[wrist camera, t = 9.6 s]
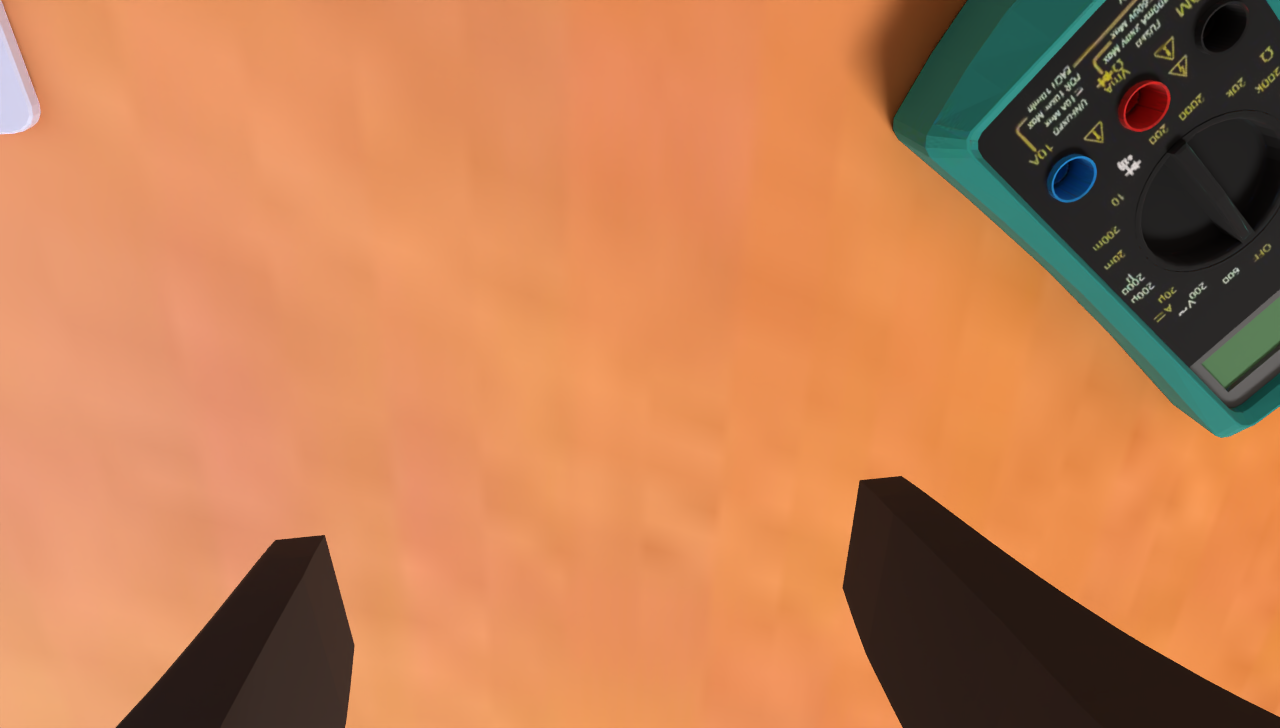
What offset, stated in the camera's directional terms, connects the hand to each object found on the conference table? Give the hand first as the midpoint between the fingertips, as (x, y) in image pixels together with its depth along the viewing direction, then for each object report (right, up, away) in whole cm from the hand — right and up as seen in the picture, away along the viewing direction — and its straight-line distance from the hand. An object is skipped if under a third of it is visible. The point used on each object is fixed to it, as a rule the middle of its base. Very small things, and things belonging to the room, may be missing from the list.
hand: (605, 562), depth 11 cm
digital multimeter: (+14, +8, +10) cm, 19 cm away
